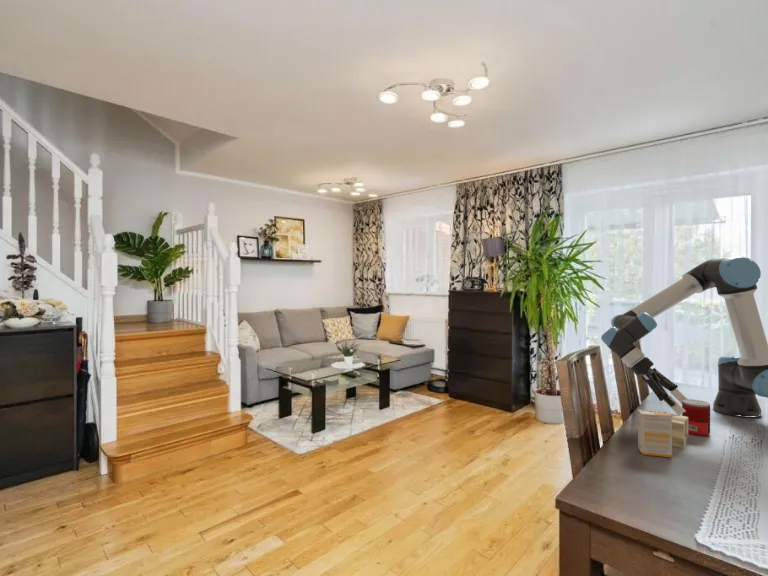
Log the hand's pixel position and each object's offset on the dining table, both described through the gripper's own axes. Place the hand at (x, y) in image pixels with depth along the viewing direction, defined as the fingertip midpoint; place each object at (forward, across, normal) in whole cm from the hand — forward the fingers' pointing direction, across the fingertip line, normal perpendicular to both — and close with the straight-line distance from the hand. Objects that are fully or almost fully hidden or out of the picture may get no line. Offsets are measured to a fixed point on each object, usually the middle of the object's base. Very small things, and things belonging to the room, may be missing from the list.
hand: (685, 409), depth 147 cm
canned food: (+8, -1, -4) cm, 9 cm away
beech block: (+4, +14, -8) cm, 17 cm away
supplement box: (+3, +30, -9) cm, 32 cm away
